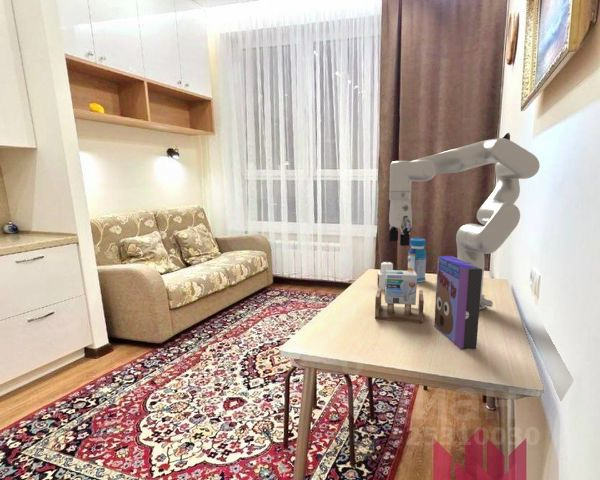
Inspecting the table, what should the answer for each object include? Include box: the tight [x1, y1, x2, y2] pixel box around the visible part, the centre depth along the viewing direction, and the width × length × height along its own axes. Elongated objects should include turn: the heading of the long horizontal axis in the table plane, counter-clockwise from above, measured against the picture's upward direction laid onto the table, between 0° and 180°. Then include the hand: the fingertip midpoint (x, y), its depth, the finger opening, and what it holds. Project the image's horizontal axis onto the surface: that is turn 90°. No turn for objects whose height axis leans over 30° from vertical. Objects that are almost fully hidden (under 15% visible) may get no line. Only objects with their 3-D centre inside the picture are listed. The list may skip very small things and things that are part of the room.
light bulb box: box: [384, 269, 418, 306], centre depth 135 cm, size 11×7×11 cm, turn 81°
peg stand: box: [374, 286, 425, 324], centre depth 136 cm, size 12×16×8 cm
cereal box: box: [433, 255, 482, 350], centre depth 116 cm, size 17×5×24 cm, turn 5°
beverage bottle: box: [407, 237, 427, 283], centre depth 180 cm, size 8×8×20 cm
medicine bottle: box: [377, 260, 395, 291], centre depth 169 cm, size 7×7×12 cm
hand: (398, 243), depth 138 cm, fingers open, 9 cm apart
